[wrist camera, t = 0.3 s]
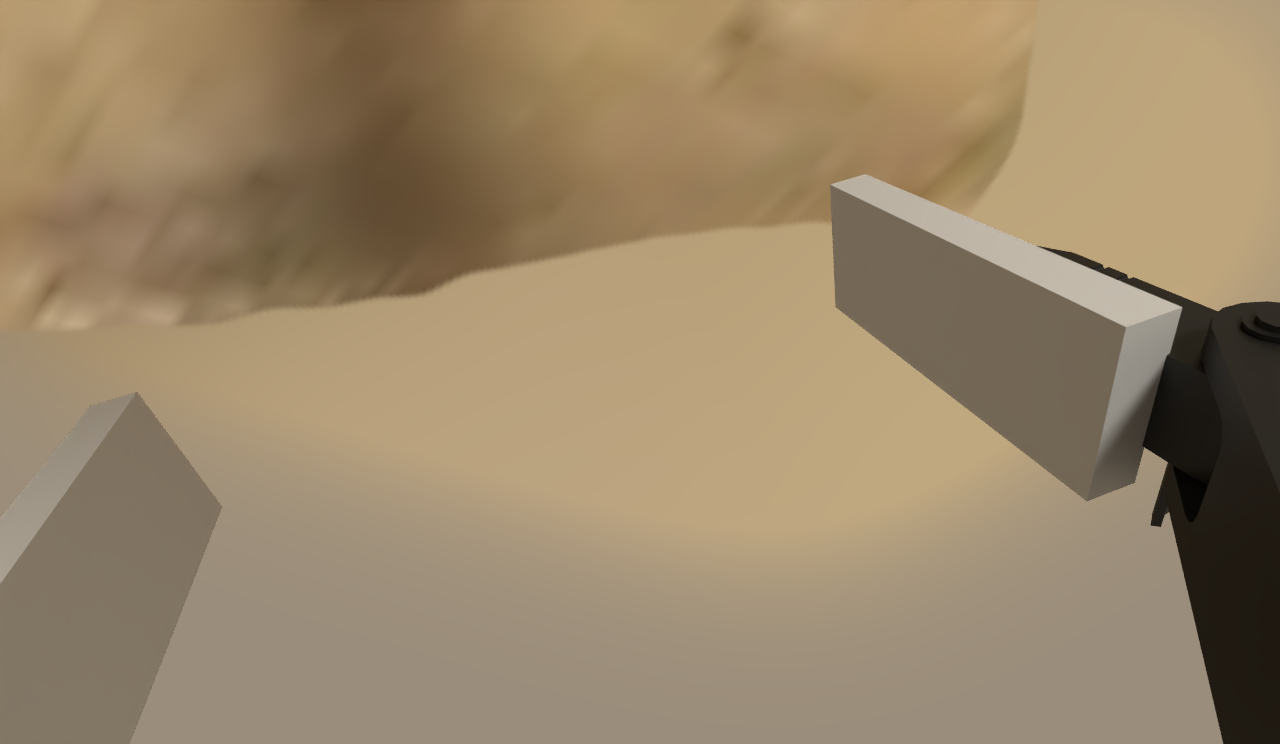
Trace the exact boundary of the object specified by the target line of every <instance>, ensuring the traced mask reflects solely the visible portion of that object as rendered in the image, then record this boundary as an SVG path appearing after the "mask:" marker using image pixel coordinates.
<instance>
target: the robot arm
mask: <svg viewBox="0 0 1280 744" xmlns="http://www.w3.org/2000/svg"><path fill="white" fill-rule="evenodd" d="M830 189H831V212H832V235H833V255H834V278H835V279H834V280H835V303H836V308H838V309H839V310H840V311H841V312H843V313H844V314H845V315H847V316H848V317H849V318H850V319H852V320H853V321H854V322H856V323H857V324H858V325H860V326H861V327H862V328H863V329H865V330H866V331H867V332H869V333H870V334H871V335H872V336H874V337H875V338H876V339H878V340H879V341H880V342H882V343H883V344H884V345H885V346H887V347H888V348H889V349H891V350H892V351H893V352H894V353H896V354H897V355H898V356H900V357H901V358H902V359H903V360H905V361H906V362H908V363H909V364H910V365H911V366H913V367H914V368H915V369H916V370H918V371H919V372H920V373H922V374H923V375H924V376H925V377H927V378H928V379H929V380H931V381H932V382H933V383H935V384H936V385H937V386H939V387H940V388H941V389H942V390H944V391H945V392H946V393H947V394H949V395H950V396H951V397H953V398H954V399H955V400H957V401H958V402H959V403H961V404H962V405H963V406H964V407H966V408H967V409H968V410H969V411H971V412H972V413H973V414H975V415H976V416H977V417H979V418H980V419H981V420H983V421H984V422H985V423H986V424H988V425H989V426H990V427H992V428H993V429H994V430H995V431H997V432H998V433H999V434H1001V435H1002V436H1003V437H1004V438H1006V439H1007V440H1008V441H1010V442H1011V443H1012V444H1014V445H1015V446H1016V447H1017V448H1019V449H1020V450H1021V451H1023V452H1024V453H1025V454H1026V455H1028V456H1029V457H1030V458H1032V459H1033V460H1034V461H1036V462H1037V463H1038V464H1039V465H1041V466H1042V467H1043V468H1045V469H1046V470H1047V471H1048V472H1050V473H1051V474H1052V475H1054V476H1055V477H1056V478H1057V479H1059V480H1060V481H1061V482H1063V483H1064V484H1065V485H1067V486H1068V487H1069V488H1070V489H1072V490H1073V491H1074V492H1076V493H1077V494H1078V495H1080V496H1081V497H1082V498H1083V499H1085V500H1086V501H1089V500H1091V499H1094V498H1096V497H1099V496H1101V495H1104V494H1107V493H1109V492H1112V491H1114V490H1117V489H1120V488H1122V487H1125V486H1127V485H1130V484H1133V483H1135V479H1136V476H1137V472H1138V468H1139V465H1140V461H1141V457H1142V454H1143V450H1144V447H1145V448H1146V449H1148V450H1150V451H1151V452H1153V453H1155V454H1156V455H1157V456H1159V457H1161V458H1162V459H1164V460H1166V461H1167V462H1168V464H1167V467H1166V470H1165V474H1164V477H1163V480H1162V484H1161V487H1160V490H1159V493H1158V497H1157V500H1156V503H1155V507H1154V510H1153V513H1152V520H1151V526H1159V527H1161V524H1162V521H1163V518H1164V515H1165V514H1166V513H1168V512H1169V513H1170V517H1171V521H1172V525H1173V530H1174V534H1175V538H1176V543H1177V547H1178V551H1179V556H1180V560H1181V564H1182V569H1183V573H1184V577H1185V581H1186V586H1187V590H1188V594H1189V598H1190V602H1191V607H1192V611H1193V615H1194V620H1195V624H1196V628H1197V633H1198V637H1199V641H1200V646H1201V650H1202V654H1203V658H1204V662H1205V667H1206V671H1207V676H1208V680H1209V684H1210V688H1211V693H1212V697H1213V701H1214V705H1215V710H1216V714H1217V718H1218V723H1219V727H1220V731H1221V735H1222V740H1223V744H1280V303H1277V302H1251V303H1240V304H1236V305H1233V306H1229V307H1225V308H1222V309H1221V310H1220V311H1215V310H1213V309H1210V308H1208V307H1205V306H1203V305H1201V304H1198V303H1195V302H1193V301H1191V300H1188V299H1186V298H1183V297H1181V296H1179V295H1176V294H1173V293H1171V292H1169V291H1166V290H1164V289H1161V288H1159V287H1156V286H1154V285H1151V284H1149V283H1147V282H1144V281H1142V280H1139V279H1137V278H1134V277H1133V278H1130V279H1129V278H1128V277H1127V274H1124V273H1122V272H1119V271H1117V270H1115V269H1112V268H1110V267H1108V268H1105V269H1104V267H1103V265H1102V264H1100V263H1097V262H1095V261H1092V260H1090V259H1087V258H1085V257H1083V256H1080V255H1078V254H1075V253H1072V252H1066V251H1061V250H1056V249H1050V248H1045V247H1039V246H1035V245H1033V244H1030V243H1028V242H1025V241H1023V240H1021V239H1018V238H1016V237H1014V236H1011V235H1009V234H1007V233H1004V232H1002V231H999V230H997V229H995V228H992V227H990V226H987V225H985V224H983V223H980V222H978V221H976V220H973V219H971V218H968V217H966V216H964V215H961V214H959V213H957V212H954V211H952V210H949V209H947V208H945V207H942V206H940V205H938V204H935V203H933V202H930V201H928V200H926V199H923V198H921V197H918V196H916V195H914V194H911V193H909V192H907V191H904V190H902V189H899V188H897V187H895V186H892V185H890V184H887V183H885V182H883V181H880V180H878V179H876V178H873V177H871V176H868V175H866V174H864V175H861V176H858V177H854V178H851V179H847V180H844V181H841V182H837V183H834V184H831V185H830ZM221 508H222V506H221V505H220V503H219V502H218V501H217V499H216V498H215V496H214V495H213V494H212V492H211V491H210V490H209V488H208V487H207V486H206V484H205V483H204V482H203V480H202V479H201V478H200V476H199V475H198V474H197V472H196V471H195V470H194V468H193V467H192V465H191V464H190V463H189V461H188V460H187V459H186V457H185V456H184V455H183V453H182V452H181V451H180V449H179V448H178V447H177V445H176V444H175V443H174V441H173V440H172V439H171V437H170V436H169V434H168V433H167V432H166V430H165V429H164V428H163V426H162V425H161V423H160V422H159V421H158V420H157V418H156V417H155V415H154V414H153V413H152V411H151V410H150V409H149V407H148V406H147V405H146V403H145V402H144V401H143V399H142V398H141V397H140V395H139V394H138V392H135V393H132V394H128V395H125V396H122V397H119V398H115V399H112V400H108V401H105V402H102V403H98V404H95V405H92V406H90V407H89V408H88V409H87V411H86V412H85V413H84V414H83V416H82V417H81V418H80V420H79V421H78V422H77V423H76V424H75V426H74V427H73V428H72V429H71V431H70V432H69V433H68V434H67V436H66V437H65V438H64V439H63V441H62V442H61V443H60V445H59V446H58V447H57V448H56V449H55V451H54V452H53V453H52V455H51V456H50V457H49V458H48V460H47V461H46V462H45V463H44V464H43V466H42V467H41V468H40V469H39V471H38V472H37V473H36V474H35V476H34V477H33V478H32V479H31V481H30V482H29V483H28V484H27V486H26V487H25V488H24V489H23V491H22V492H21V493H20V494H19V496H18V497H17V498H16V499H15V501H14V502H13V503H12V504H11V506H10V507H9V508H8V509H7V511H6V512H5V513H4V514H3V516H2V517H1V518H0V744H130V741H131V739H132V736H133V734H134V731H135V729H136V726H137V724H138V721H139V718H140V716H141V713H142V710H143V708H144V706H145V703H146V700H147V698H148V695H149V693H150V690H151V688H152V685H153V682H154V680H155V677H156V675H157V672H158V670H159V667H160V665H161V662H162V659H163V657H164V654H165V652H166V649H167V647H168V644H169V641H170V639H171V636H172V634H173V631H174V629H175V626H176V623H177V621H178V618H179V616H180V613H181V611H182V608H183V606H184V603H185V600H186V598H187V595H188V593H189V590H190V587H191V585H192V583H193V580H194V577H195V575H196V572H197V570H198V567H199V564H200V562H201V559H202V557H203V554H204V552H205V549H206V546H207V544H208V542H209V539H210V536H211V534H212V531H213V529H214V526H215V523H216V521H217V518H218V516H219V513H220V511H221Z"/></svg>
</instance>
